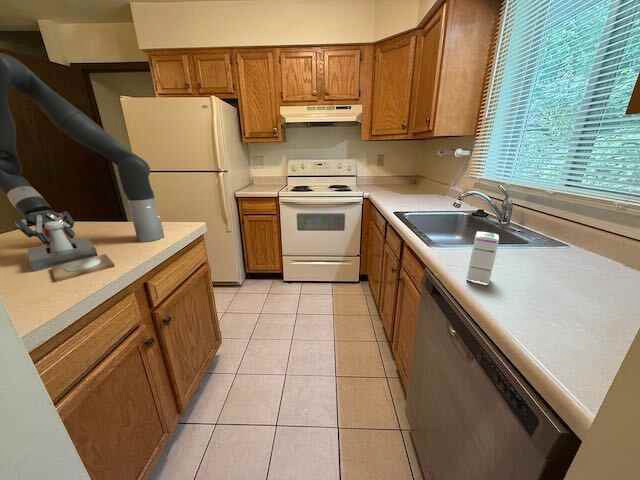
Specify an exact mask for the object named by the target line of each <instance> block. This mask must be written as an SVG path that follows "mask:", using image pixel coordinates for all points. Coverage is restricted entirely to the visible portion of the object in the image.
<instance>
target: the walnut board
mask: <svg viewBox="0 0 640 480" xmlns="http://www.w3.org/2000/svg"><path fill="white" fill-rule="evenodd" d="M110 268H115V263H114V262H113V261H112V260H111V258H109V256H108V255H107V254H106V253H105V254H100V255H99V254H98V256H95V257H90V258H86V259H82V260H77V261H73V262H69V263H64V264H60V265H56V266H51V268H50V269H51V271H52V274H53V277H54V280H55V282H56V283H58V282H60V281H65V280H68V279H72V278H76V277H81V276H84V275H87V274H91V273H96V272H99V271H103V270H106V269H110Z"/></svg>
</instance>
